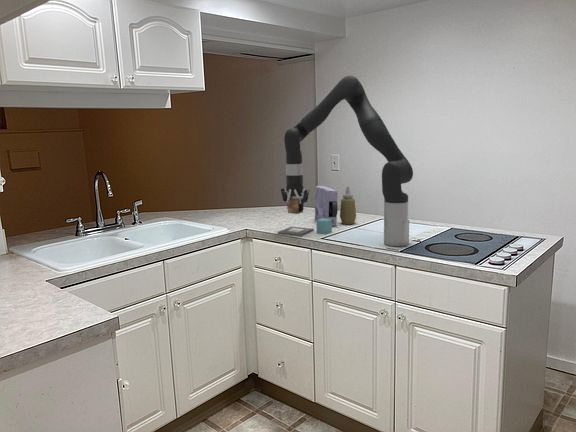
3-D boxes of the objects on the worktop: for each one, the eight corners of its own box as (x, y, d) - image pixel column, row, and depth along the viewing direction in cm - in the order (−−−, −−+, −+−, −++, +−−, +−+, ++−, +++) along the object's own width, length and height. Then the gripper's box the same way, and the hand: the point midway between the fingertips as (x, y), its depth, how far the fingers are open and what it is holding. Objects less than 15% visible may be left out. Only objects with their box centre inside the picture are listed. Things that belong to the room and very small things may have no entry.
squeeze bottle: (351, 225, 222) (350, 188, 219) (336, 224, 227) (336, 187, 224) (359, 222, 228) (359, 186, 225) (345, 221, 233) (344, 185, 230)
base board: (313, 230, 214) (313, 228, 214) (300, 236, 204) (300, 234, 204) (291, 228, 220) (291, 226, 220) (277, 233, 210) (277, 231, 210)
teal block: (331, 232, 211) (331, 219, 210) (326, 234, 207) (326, 221, 206) (321, 231, 214) (321, 218, 212) (316, 233, 209) (316, 220, 208)
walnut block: (302, 212, 211) (302, 199, 210) (297, 213, 207) (297, 200, 206) (293, 211, 214) (293, 198, 213) (287, 213, 210) (287, 200, 209)
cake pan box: (338, 226, 221) (338, 190, 218) (328, 227, 220) (328, 190, 216) (323, 219, 239) (322, 185, 236) (314, 220, 238) (313, 186, 234)
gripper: (312, 173, 207) (313, 211, 210) (285, 172, 214) (286, 208, 217) (304, 175, 200) (305, 214, 204) (276, 174, 208) (277, 211, 211)
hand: (295, 211), depth 210 cm, fingers closed on walnut block, 5 cm apart
